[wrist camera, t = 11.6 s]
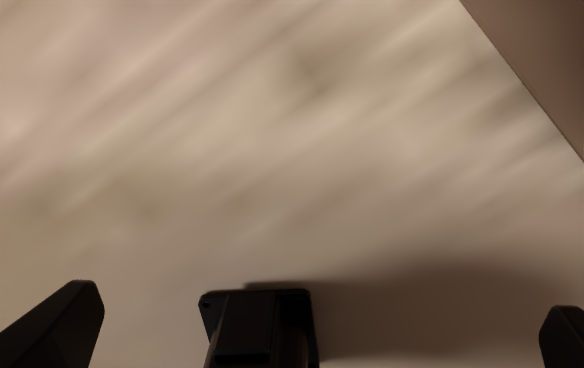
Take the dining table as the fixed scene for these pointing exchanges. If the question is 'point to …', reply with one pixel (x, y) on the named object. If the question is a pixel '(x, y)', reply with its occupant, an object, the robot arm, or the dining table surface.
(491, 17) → the brown flat piece
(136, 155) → the dining table surface
